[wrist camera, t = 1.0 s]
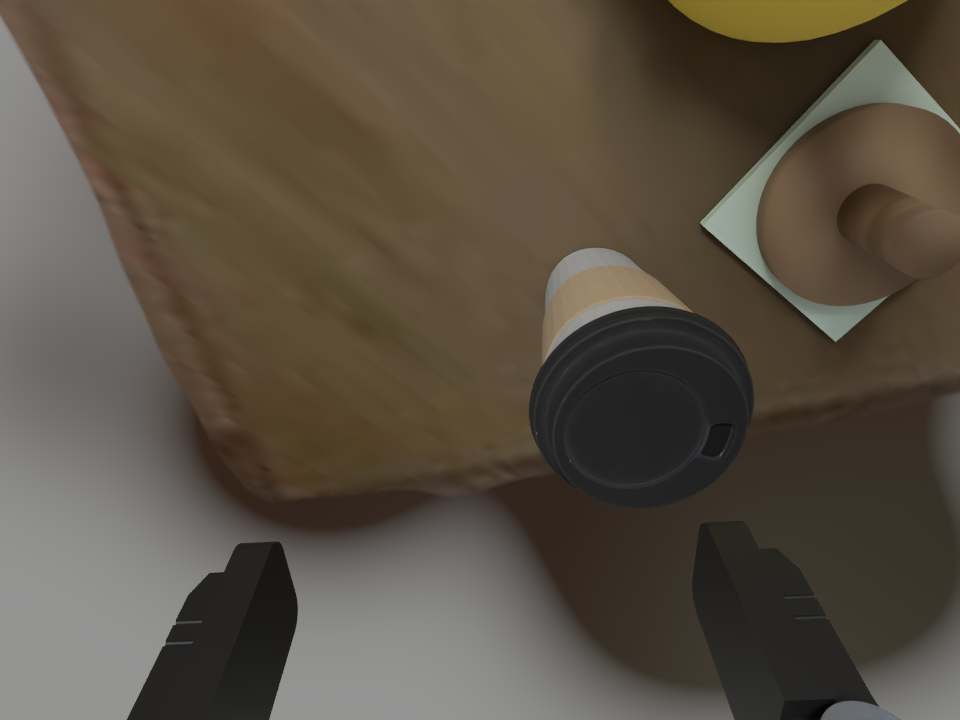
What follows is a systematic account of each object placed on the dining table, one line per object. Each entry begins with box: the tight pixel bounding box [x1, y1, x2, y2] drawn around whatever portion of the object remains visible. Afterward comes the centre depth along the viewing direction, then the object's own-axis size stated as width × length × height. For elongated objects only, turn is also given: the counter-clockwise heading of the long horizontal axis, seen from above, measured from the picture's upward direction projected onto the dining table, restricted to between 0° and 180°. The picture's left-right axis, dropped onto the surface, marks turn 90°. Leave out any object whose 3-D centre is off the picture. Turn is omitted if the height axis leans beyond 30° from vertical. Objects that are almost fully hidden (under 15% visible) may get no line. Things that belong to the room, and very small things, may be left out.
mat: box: [700, 40, 960, 342], centre depth 37 cm, size 12×12×1 cm
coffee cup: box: [529, 248, 754, 508], centre depth 33 cm, size 9×9×15 cm
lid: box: [756, 103, 960, 306], centre depth 33 cm, size 11×11×7 cm
